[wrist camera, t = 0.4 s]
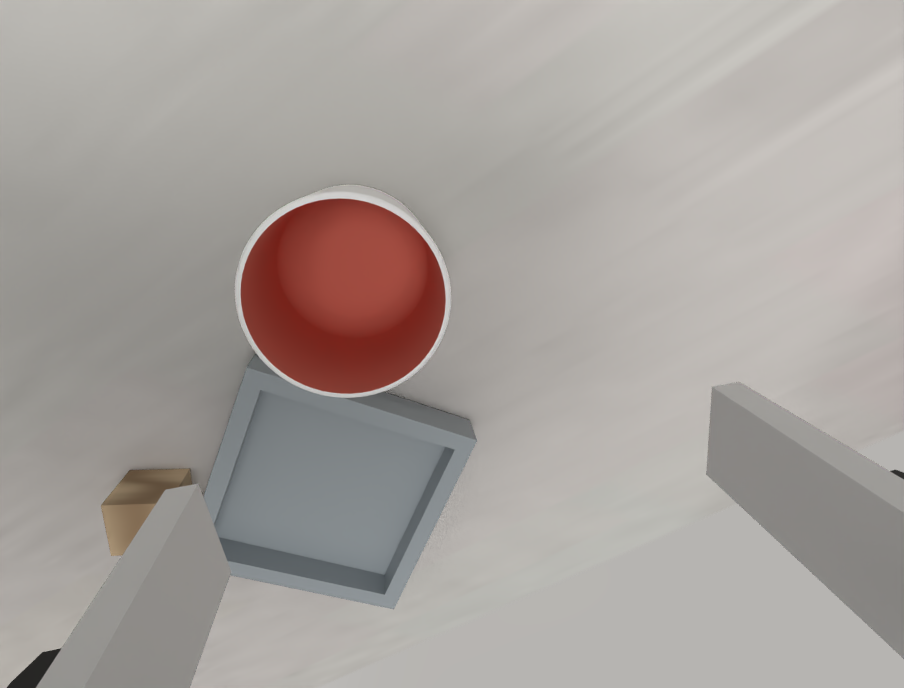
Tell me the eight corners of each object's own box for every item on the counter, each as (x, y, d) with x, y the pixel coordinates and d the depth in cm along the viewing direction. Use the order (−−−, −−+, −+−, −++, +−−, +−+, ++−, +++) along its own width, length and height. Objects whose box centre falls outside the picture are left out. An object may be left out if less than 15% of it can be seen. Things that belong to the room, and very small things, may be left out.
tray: (195, 535, 38) (180, 564, 35) (257, 350, 33) (246, 367, 31) (392, 579, 42) (393, 609, 39) (469, 419, 38) (476, 440, 35)
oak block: (138, 516, 36) (111, 555, 33) (130, 469, 35) (100, 505, 31) (196, 513, 37) (176, 552, 33) (190, 468, 36) (168, 503, 32)
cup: (380, 360, 35) (381, 431, 26) (247, 286, 32) (194, 335, 23) (459, 241, 33) (492, 271, 24) (325, 149, 30) (302, 142, 21)
